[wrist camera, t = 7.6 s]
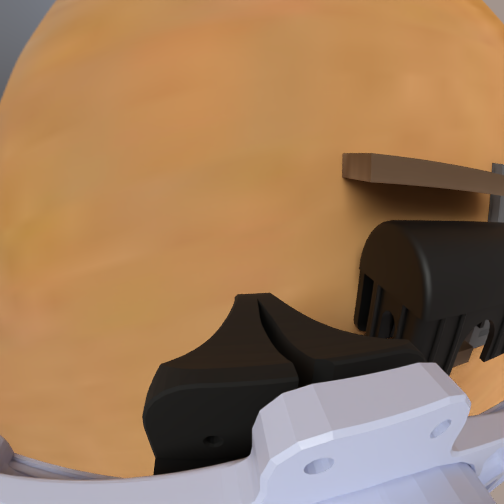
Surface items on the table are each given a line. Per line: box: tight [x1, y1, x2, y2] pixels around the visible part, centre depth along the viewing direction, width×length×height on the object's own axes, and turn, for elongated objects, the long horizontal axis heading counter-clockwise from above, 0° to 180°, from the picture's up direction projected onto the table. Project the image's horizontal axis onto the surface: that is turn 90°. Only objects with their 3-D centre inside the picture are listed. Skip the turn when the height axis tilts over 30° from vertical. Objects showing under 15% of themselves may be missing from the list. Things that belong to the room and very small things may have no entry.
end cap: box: [354, 220, 504, 376], centre depth 14 cm, size 10×7×7 cm
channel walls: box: [342, 153, 504, 367], centre depth 15 cm, size 12×10×3 cm
